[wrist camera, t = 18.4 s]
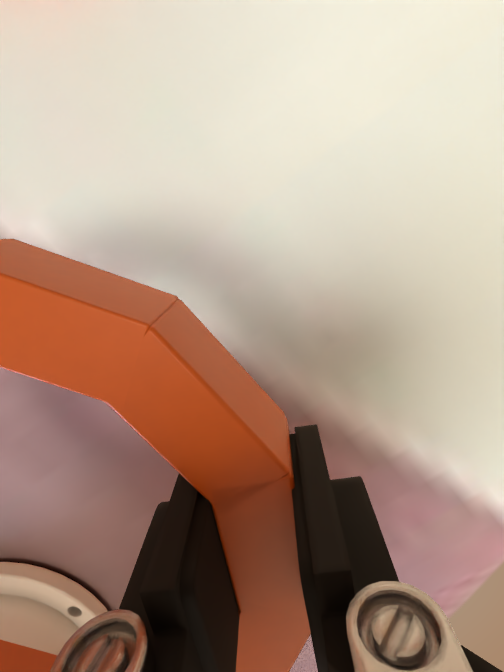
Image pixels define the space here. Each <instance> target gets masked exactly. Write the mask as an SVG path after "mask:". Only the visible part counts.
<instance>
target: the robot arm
mask: <svg viewBox="0 0 504 672" xmlns="http://www.w3.org/2000/svg"><path fill="white" fill-rule="evenodd" d="M289 436H290V446H291V455H292V465H293V475H294V484H295V486H294V489H292V499H293V510H294V521H295V532H296V543H297V554H298V563H299V571H300V578H301V585H302V591H303V596H304V601H305V606H306V611H307V616H308V622H309V627H310V632H311V637H312V642H313V647H314V653H315V658H316V663H317V668H318V672H502V671H501V670H499V669H498V668H496V667H495V666H493V665H491V664H490V663H488V662H487V661H485V660H484V659H482V658H481V657H479V656H477V655H476V654H474V653H473V652H471V651H470V650H468V649H467V648H465V647H463V646H462V645H460V643H459V641H458V639H457V637H456V635H455V633H454V630H453V628H452V626H451V624H450V622H449V620H448V618H447V617H446V615H445V614H444V612H443V611H442V609H441V608H440V606H439V605H438V604H437V603H436V602H435V601H434V600H433V599H432V598H431V597H430V596H428V595H427V594H426V593H424V592H423V591H421V590H419V589H417V588H416V587H414V586H412V585H409V584H405V583H401V582H399V580H398V577H397V574H396V571H395V569H394V566H393V563H392V560H391V558H390V555H389V552H388V549H387V546H386V544H385V541H384V538H383V535H382V532H381V530H380V527H379V524H378V521H377V518H376V516H375V513H374V510H373V507H372V505H371V502H370V499H369V496H368V493H367V491H366V488H365V485H364V482H363V480H362V478H361V477H360V476H358V477H351V478H343V479H335V480H330V478H329V474H328V470H327V465H326V461H325V457H324V453H323V448H322V444H321V440H320V436H319V432H318V427H317V424H316V425H309V426H302V427H295V434H289ZM238 610H239V609H238V605H237V601H236V598H235V594H234V590H233V586H232V582H231V579H230V575H229V571H228V567H227V563H226V559H225V556H224V552H223V548H222V544H221V540H220V536H219V533H218V529H217V525H216V521H215V517H214V513H213V510H212V506H211V503H210V502H209V500H207V499H206V498H205V497H204V496H203V495H202V494H200V493H199V492H198V491H197V490H196V489H195V488H194V487H193V486H192V485H191V484H190V483H189V482H188V481H187V480H186V479H185V478H184V477H183V476H182V475H181V474H180V473H179V475H178V478H177V481H176V484H175V487H174V490H173V493H172V496H171V499H170V501H168V502H161V503H160V504H159V505H158V506H157V508H156V510H155V513H154V516H153V519H152V521H151V524H150V527H149V529H148V532H147V535H146V537H145V540H144V543H143V546H142V548H141V551H140V554H139V556H138V559H137V562H136V564H135V567H134V570H133V573H132V575H131V578H130V581H129V583H128V586H127V589H126V592H125V594H124V597H123V600H122V602H121V605H120V608H119V609H117V610H112V611H108V610H107V609H106V608H105V606H104V605H103V604H102V603H101V602H100V601H99V600H98V599H97V598H96V597H95V596H94V595H93V594H92V593H91V592H89V591H88V590H87V589H85V588H84V587H82V586H81V585H80V584H78V583H77V582H75V581H73V580H71V579H69V578H67V577H65V576H64V575H62V574H59V573H56V572H54V571H51V570H48V569H46V568H43V567H38V566H34V565H30V564H25V563H14V562H0V640H4V641H8V642H11V643H15V644H18V645H22V646H26V647H29V648H33V649H37V650H40V651H44V652H47V653H51V654H55V655H58V656H57V657H56V659H55V661H54V663H53V665H52V667H51V669H50V671H49V672H236V661H237V646H238V631H239V613H238Z"/></svg>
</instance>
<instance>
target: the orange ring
mask: <svg viewBox="0 0 504 672" xmlns="http://www.w3.org/2000/svg"><path fill="white" fill-rule="evenodd" d="M0 368H3V369H6V370H9V371H12V372H16V373H19V374H22V375H25V376H28V377H31V378H34V379H37V380H40V381H43V382H46V383H49V384H52V385H55V386H58V387H61V388H64V389H68V390H71V391H74V392H77V393H80V394H83V395H86V396H89V397H92V398H95V399H98V400H101V401H104V402H105V403H106V404H107V405H108V406H110V407H111V408H112V409H113V410H114V411H115V412H116V413H117V414H118V415H119V416H120V417H121V418H122V419H123V420H124V421H125V422H126V423H127V424H128V425H129V426H130V427H131V428H133V429H134V430H135V431H136V432H137V433H138V434H139V435H140V436H141V437H142V438H143V439H144V440H145V441H146V442H147V443H148V444H149V445H150V446H151V447H152V448H153V449H154V450H156V451H157V452H158V453H159V454H160V455H161V456H162V457H163V458H164V459H165V460H166V461H167V462H168V463H169V464H170V465H171V466H172V467H173V468H174V469H175V470H176V471H177V472H179V473H180V474H181V475H182V476H183V477H184V478H185V479H186V480H187V481H188V482H189V483H190V484H191V485H192V486H193V487H194V488H195V489H196V490H197V491H198V492H199V493H200V494H202V495H203V496H204V497H205V498H206V499H207V500H209V502H210V503H211V506H212V510H213V513H214V517H215V521H216V525H217V529H218V533H219V536H220V540H221V544H222V548H223V552H224V556H225V559H226V563H227V567H228V571H229V575H230V579H231V582H232V586H233V590H234V594H235V598H236V601H237V605H238V609H239V610H238V613H239V631H238V646H237V661H236V672H289V671H290V669H291V667H292V665H293V664H294V662H295V660H296V658H297V657H298V655H299V653H300V651H301V650H302V648H303V646H304V644H305V643H306V641H307V639H308V637H309V635H310V634H311V632H310V627H309V622H308V616H307V611H306V606H305V601H304V596H303V591H302V585H301V578H300V571H299V563H298V554H297V543H296V532H295V521H294V510H293V499H292V489H294V486H295V484H294V475H293V465H292V455H291V446H290V436H289V434H290V433H289V427H288V422H287V418H286V417H285V414H284V412H283V411H282V410H281V409H280V408H279V407H278V406H277V405H276V403H275V402H274V401H273V400H272V399H271V398H270V397H269V396H268V395H267V394H266V393H265V391H264V390H263V389H262V388H261V387H260V386H259V385H258V384H257V383H256V382H255V381H254V379H253V378H252V377H251V376H250V375H249V374H248V373H247V372H246V371H245V370H244V368H243V367H242V366H241V365H240V364H239V363H238V362H237V361H236V360H235V359H234V358H233V356H232V355H231V354H230V353H229V352H228V351H227V350H226V349H225V348H224V347H223V346H222V344H221V343H220V342H219V341H218V340H217V339H216V338H215V337H214V336H213V335H212V333H211V332H210V331H209V330H208V329H207V328H206V327H205V326H204V325H203V324H202V323H201V321H200V320H199V319H198V318H197V317H196V316H195V315H194V314H193V313H192V312H191V311H190V309H189V308H188V307H187V306H186V305H185V304H184V303H183V302H182V301H181V300H179V299H178V297H177V296H174V295H172V294H169V293H166V292H163V291H160V290H157V289H155V288H152V287H149V286H146V285H143V284H140V283H138V282H135V281H132V280H129V279H126V278H123V277H120V276H118V275H115V274H112V273H109V272H106V271H103V270H101V269H98V268H95V267H92V266H89V265H86V264H83V263H81V262H78V261H75V260H72V259H69V258H66V257H64V256H61V255H58V254H55V253H52V252H49V251H46V250H44V249H41V248H38V247H35V246H32V245H29V244H27V243H24V242H21V241H18V240H15V239H0ZM57 656H58V655H55V654H51V653H47V652H44V651H40V650H37V649H33V648H29V647H26V646H22V645H18V644H15V643H11V642H8V641H4V640H0V672H49V671H50V669H51V667H52V665H53V663H54V661H55V659H56V657H57Z"/></svg>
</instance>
